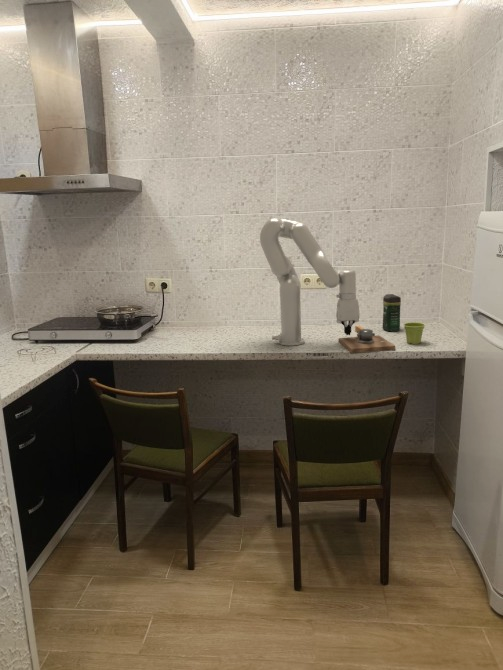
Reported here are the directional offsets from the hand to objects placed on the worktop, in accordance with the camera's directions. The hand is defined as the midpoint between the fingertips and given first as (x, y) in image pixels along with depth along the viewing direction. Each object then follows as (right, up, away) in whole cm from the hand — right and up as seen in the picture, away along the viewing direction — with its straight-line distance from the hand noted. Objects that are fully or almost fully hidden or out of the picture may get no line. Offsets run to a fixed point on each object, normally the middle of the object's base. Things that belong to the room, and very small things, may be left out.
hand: (347, 334), depth 229 cm
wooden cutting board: (+7, -5, -7) cm, 11 cm away
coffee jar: (+27, +2, +21) cm, 34 cm away
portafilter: (+6, -1, -3) cm, 7 cm away
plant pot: (+30, -4, -5) cm, 30 cm away
